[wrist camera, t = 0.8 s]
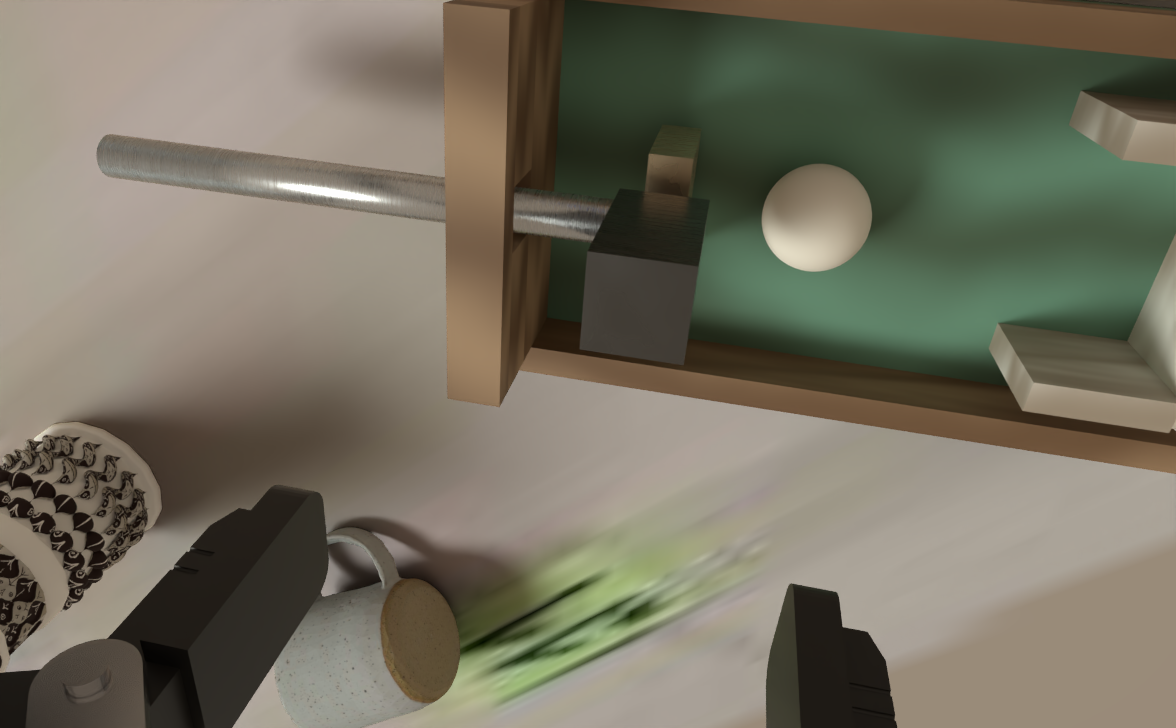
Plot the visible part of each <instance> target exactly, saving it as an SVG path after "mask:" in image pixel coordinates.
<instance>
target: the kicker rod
mask: <svg viewBox="0 0 1176 728" xmlns="http://www.w3.org/2000/svg"><path fill="white" fill-rule="evenodd" d="M700 136H701V129H698V128H690V127H681V126H673V125H664V124H663V125H662V127H661V129H660V131H659V133H658V135H657V138H656V140H655V142H654V144H653V146H652V148H651V150H650V153H649V158H648V167H647V176H646V185H645V191H638V190H630V189H622V188H620V189H619V191H618V193H617V195H616V197H615V199H607V198H599V197H592V196H584V195H576V194H568V193H561V192H553V191H545V190H538V189H530V188H522V187H514V215H513V232H514V233H521V234H529V235H536V236H543V237H551V238H558V239H565V240H572V241H580V242H587V243H591V245H590V247H589V249H588V251H587V261H586V274H585V287H584V299H583V312H582V324H581V337H580V349H581V350H587V351H594V352H600V353H607V354H613V355H620V356H626V357H633V358H639V359H646V360H653V361H659V362H666V363H672V364H679V365H684V360H685V354H686V348H687V342H688V336H689V330H690V324H691V318H692V312H693V306H694V300H695V294H696V288H697V281H698V275H699V268H700V262H701V255H702V249H703V242H704V236H705V229H706V222H707V216H708V209H709V203H710V200H708V199H700V198H692V193H693V186H694V179H695V172H696V165H697V158H698V151H699V144H700ZM97 162H98V165H99V167H100V169H101V171H102V172H103V173H104V174H105V175H106V176H108V177H112V178H119V179H126V180H134V181H141V182H148V183H156V184H163V185H170V186H178V187H185V188H192V189H200V190H207V191H214V192H222V193H229V194H236V195H243V196H251V197H258V198H265V199H273V200H280V201H287V202H295V203H302V204H309V205H317V206H324V207H331V208H338V209H346V210H353V211H360V212H368V213H375V214H382V215H390V216H397V217H404V218H412V219H419V220H426V221H434V222H441V223H446V209H445V177H437V176H430V175H422V174H414V173H407V172H399V171H391V170H383V169H376V168H368V167H360V166H353V165H345V164H337V163H329V162H322V161H314V160H306V159H299V158H291V157H283V156H275V155H268V154H260V153H252V152H245V151H237V150H229V149H221V148H214V147H206V146H198V145H191V144H183V143H175V142H168V141H160V140H152V139H144V138H137V137H129V136H121V135H114V134H109V135H106V136H104V137H103V138H102V139H101V141H100V142H99V145H98V148H97Z"/></svg>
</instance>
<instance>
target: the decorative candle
mask: <svg viewBox="0 0 1176 728" xmlns="http://www.w3.org/2000/svg"><path fill="white" fill-rule="evenodd" d="M2 460H3V466H0V673H4V672H5V670H6V668H7V665H8V663H9V660H10V655H11V654H12V653H13V652H14V651H15V650H16V649H17V648H18V647H19V646H20V645H21V644H22V643H23V642H24V641H25V640H26V639H27V638H28V637H29V636H30V635H31V634H32V633H34V632H36V631H38V630H40V629H42V628H44V627H45V626H46V625H47V624H48V623H49V622H50V621H51V620H52V619H53V618H54V617H55V616H56V615H57V614H58V613H59V612H60V611H65V610H67V609H69V608H70V607H71V605H72V603H77V602H78V601H80V600H81V599H82V597H83V593H84V592H83V591H84V590H87V589H88V588H89V587H90V586H91V584H92V583H96V582H98V581H99V580H100V579H101V578H102V575H103V571H105V570H107V569H109V568H110V567H112V566H113V565H114V564H115V563H117V562H119V561H120V560H121V559H122V558H123V557H124V556H125V554H126V551H127V550H128V549H129V548H130V547H131V546H133V545H135V544H137V543H138V542H139V541H140V540H141V539H142V537H143V534H144V532H145V531H146V530H148V529H150V528H151V527H152V526H153V525H154V524H155V522H156V520H157V518H158V516H159V514H160V512H161V510H162V501H161V490H160V486H159V484H158V483H157V481H156V479H155V477H154V475H153V473H152V471H151V469H150V467H149V465H148V464H147V463H146V462H145V461H144V460H143V459H142V458H141V457H140V456H139V455H138V454H137V453H136V452H135V451H134V450H133V449H132V448H131V447H130V446H129V445H128V444H127V443H125V442H124V441H122V440H120V439H119V438H117V437H115V436H114V435H112V434H110V433H109V432H107V431H106V430H104V429H101V428H98V427H94V426H90V425H87V424H83V423H80V422H68V423H57V424H53V425H52V426H50V427H49V428H48V429H46V430H45V431H43V432H42V433H40V434H39V435H38V436H36V437H35V438H34V440H32V439H28V440H26V442H25V450H23V451H21V450H19V449H16V450H14V451H13V453H12V455H11V454H7V455H5V456H4V457H3V459H2Z"/></svg>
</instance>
